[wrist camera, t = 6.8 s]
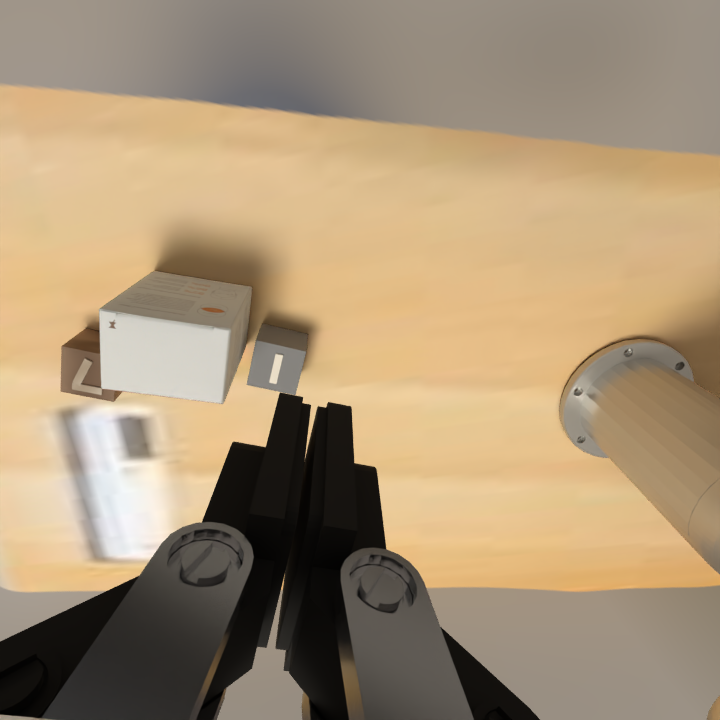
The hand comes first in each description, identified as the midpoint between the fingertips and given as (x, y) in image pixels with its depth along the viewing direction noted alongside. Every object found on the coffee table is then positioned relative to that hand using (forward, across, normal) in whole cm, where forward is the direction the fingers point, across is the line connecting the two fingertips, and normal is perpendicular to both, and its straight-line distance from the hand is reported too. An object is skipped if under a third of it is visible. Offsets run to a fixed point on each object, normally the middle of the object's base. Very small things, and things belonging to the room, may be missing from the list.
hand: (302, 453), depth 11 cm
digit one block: (+29, +2, +10) cm, 31 cm away
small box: (+29, +9, +8) cm, 31 cm away
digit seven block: (+29, +16, +13) cm, 36 cm away
